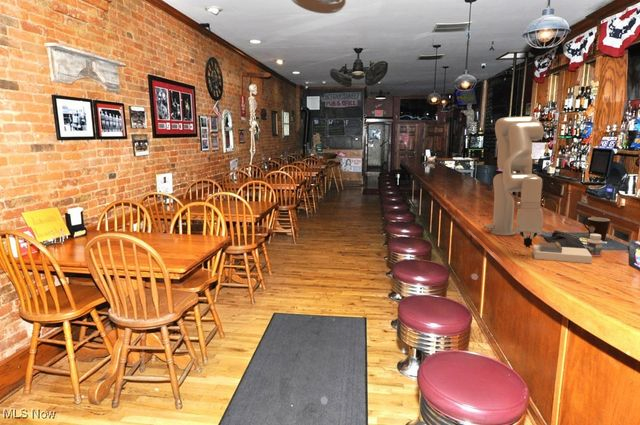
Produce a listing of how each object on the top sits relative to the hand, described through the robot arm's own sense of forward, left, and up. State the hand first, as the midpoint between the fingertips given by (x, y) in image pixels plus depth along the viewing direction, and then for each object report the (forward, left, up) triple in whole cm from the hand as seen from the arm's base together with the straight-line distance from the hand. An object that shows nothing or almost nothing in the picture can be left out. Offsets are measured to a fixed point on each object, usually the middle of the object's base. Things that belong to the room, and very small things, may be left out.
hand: (527, 246), depth 170 cm
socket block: (+13, 0, -4) cm, 13 cm away
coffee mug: (+32, +37, -4) cm, 48 cm away
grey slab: (+9, 0, 0) cm, 9 cm away
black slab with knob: (+17, +22, -4) cm, 28 cm away
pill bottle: (+26, +8, -4) cm, 27 cm away
